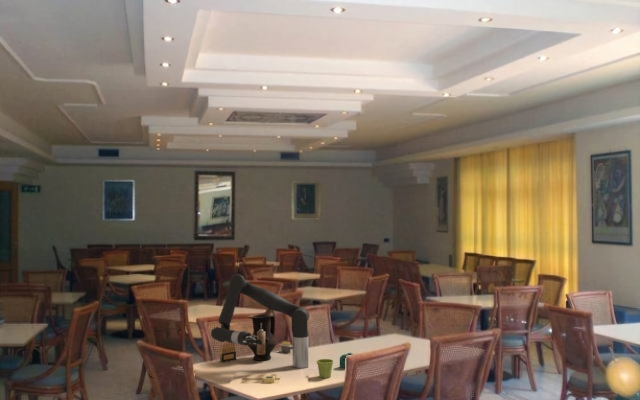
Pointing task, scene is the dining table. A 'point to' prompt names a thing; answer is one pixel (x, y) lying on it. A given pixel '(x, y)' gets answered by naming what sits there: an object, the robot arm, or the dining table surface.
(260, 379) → the plywood panel
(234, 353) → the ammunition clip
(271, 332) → the jug
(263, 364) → the dining table surface
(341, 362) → the bracket
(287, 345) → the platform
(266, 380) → the stud finder
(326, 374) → the plant pot
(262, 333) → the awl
